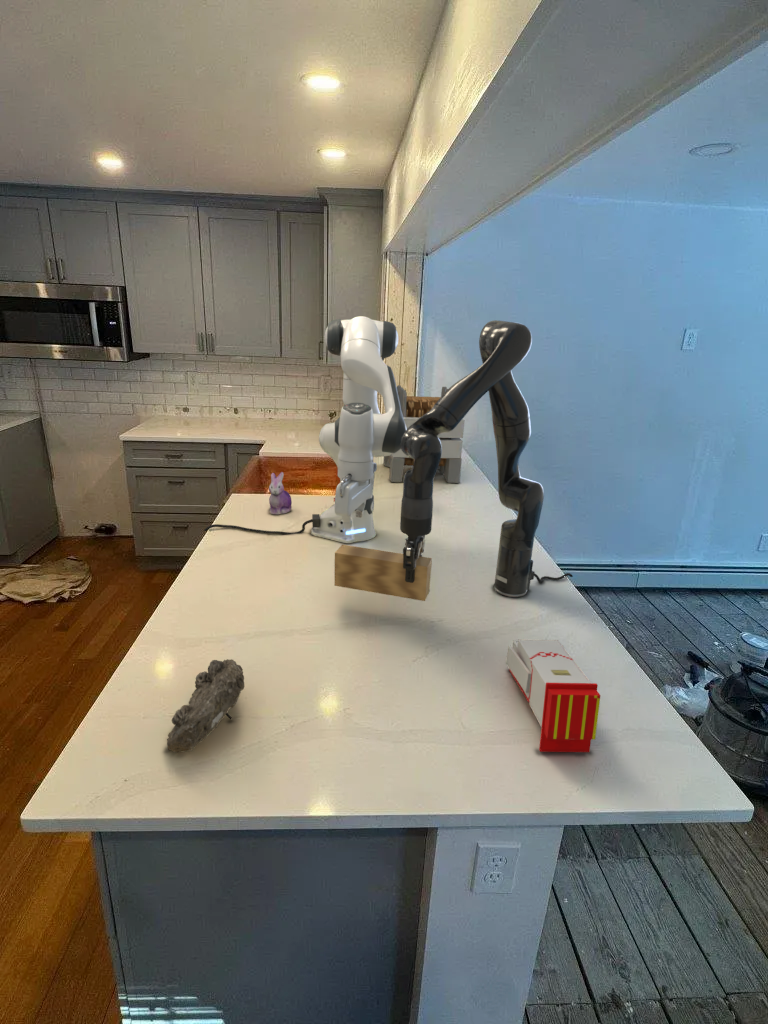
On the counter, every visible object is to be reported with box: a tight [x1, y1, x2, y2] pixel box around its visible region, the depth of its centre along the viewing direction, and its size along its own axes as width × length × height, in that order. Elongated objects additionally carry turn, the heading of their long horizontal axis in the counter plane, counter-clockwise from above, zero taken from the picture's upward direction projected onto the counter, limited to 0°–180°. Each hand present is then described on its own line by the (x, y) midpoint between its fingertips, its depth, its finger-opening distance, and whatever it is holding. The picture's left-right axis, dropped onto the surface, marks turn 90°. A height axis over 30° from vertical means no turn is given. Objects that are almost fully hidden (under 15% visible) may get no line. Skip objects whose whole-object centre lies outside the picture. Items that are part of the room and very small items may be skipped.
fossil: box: [166, 658, 245, 754], centre depth 106 cm, size 22×10×15 cm
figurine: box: [268, 471, 293, 515], centre depth 214 cm, size 9×10×15 cm
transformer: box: [383, 384, 465, 484], centre depth 268 cm, size 34×33×41 cm
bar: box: [334, 544, 433, 602], centre depth 143 cm, size 24×6×9 cm, turn 74°
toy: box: [505, 638, 602, 753], centre depth 114 cm, size 12×13×30 cm
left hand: (353, 522), depth 146 cm, fingers open, 8 cm apart
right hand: (412, 576), depth 141 cm, fingers closed on bar, 5 cm apart
